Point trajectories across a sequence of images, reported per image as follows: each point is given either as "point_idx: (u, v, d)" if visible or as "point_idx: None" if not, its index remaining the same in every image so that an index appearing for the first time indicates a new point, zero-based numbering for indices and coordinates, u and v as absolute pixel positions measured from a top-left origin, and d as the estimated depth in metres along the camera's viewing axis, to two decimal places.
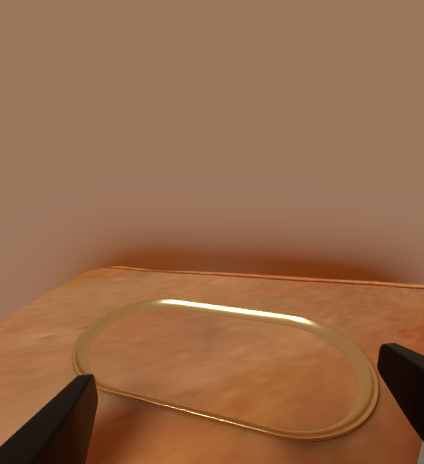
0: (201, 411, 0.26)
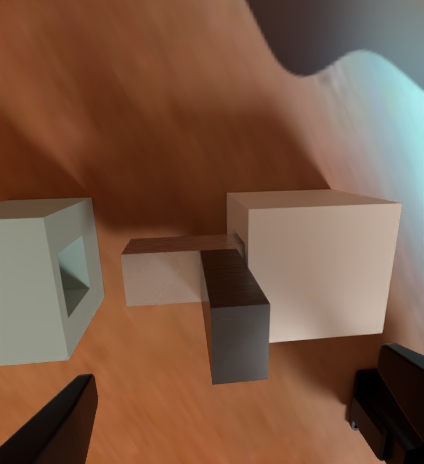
0: None
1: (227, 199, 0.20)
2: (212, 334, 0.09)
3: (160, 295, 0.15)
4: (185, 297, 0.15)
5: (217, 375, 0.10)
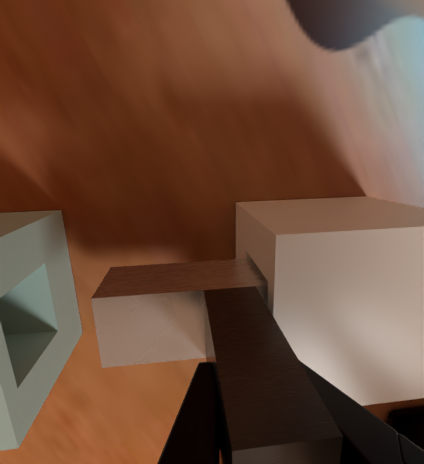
0: None
1: (236, 210, 0.16)
2: None
3: (149, 351, 0.11)
4: (183, 353, 0.11)
5: None
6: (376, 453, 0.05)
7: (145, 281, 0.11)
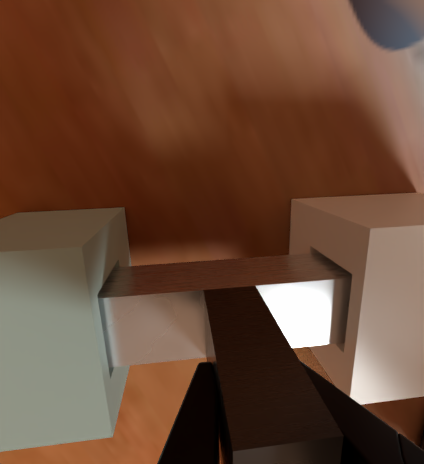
0: None
1: (293, 207, 0.16)
2: None
3: (150, 351, 0.11)
4: (184, 353, 0.11)
5: None
6: (376, 453, 0.05)
7: (145, 281, 0.11)
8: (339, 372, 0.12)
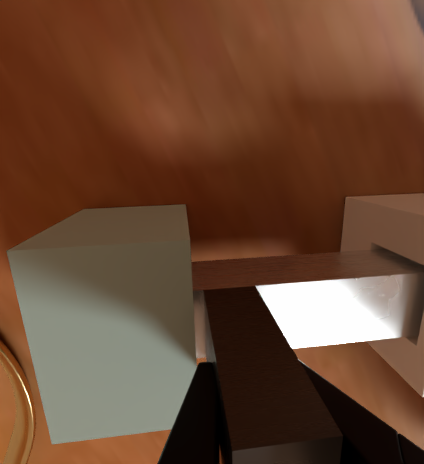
0: None
1: (348, 205, 0.16)
2: None
3: None
4: None
5: None
6: (377, 453, 0.05)
7: None
8: (409, 365, 0.12)
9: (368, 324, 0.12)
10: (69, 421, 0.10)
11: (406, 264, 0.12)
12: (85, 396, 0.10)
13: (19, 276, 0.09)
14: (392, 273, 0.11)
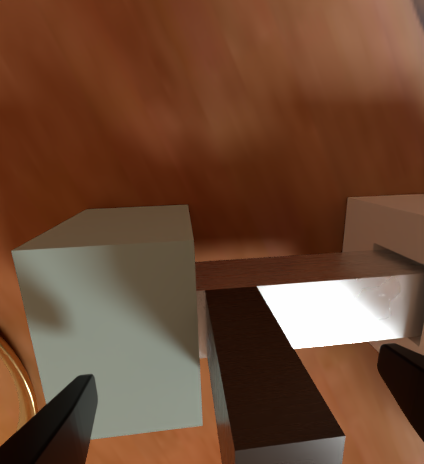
0: None
1: (350, 205, 0.16)
2: None
3: None
4: None
5: None
6: None
7: None
8: None
9: (369, 325, 0.12)
10: None
11: (407, 265, 0.12)
12: None
13: (23, 276, 0.09)
14: (394, 274, 0.11)
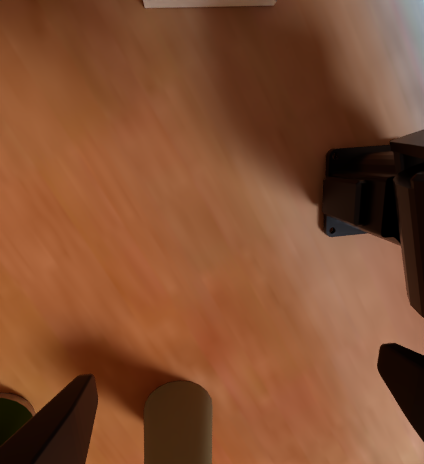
0: None
1: None
2: None
3: None
4: None
5: None
6: None
7: None
8: None
9: None
10: None
11: None
12: None
13: None
14: None
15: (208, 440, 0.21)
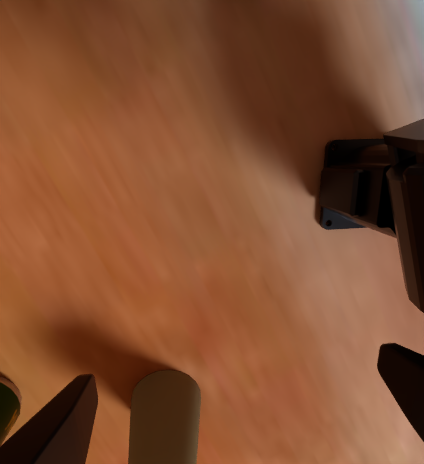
0: None
1: None
2: None
3: None
4: None
5: None
6: None
7: None
8: None
9: None
10: None
11: None
12: None
13: None
14: None
15: (194, 430, 0.21)
